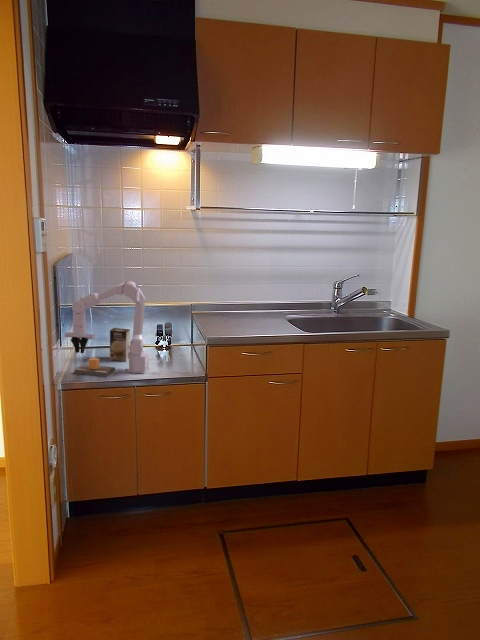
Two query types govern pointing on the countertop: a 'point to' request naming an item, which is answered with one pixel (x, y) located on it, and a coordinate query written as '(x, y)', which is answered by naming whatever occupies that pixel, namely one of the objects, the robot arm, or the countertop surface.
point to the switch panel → (94, 371)
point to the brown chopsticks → (106, 366)
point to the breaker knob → (93, 363)
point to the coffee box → (119, 344)
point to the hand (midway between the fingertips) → (80, 352)
